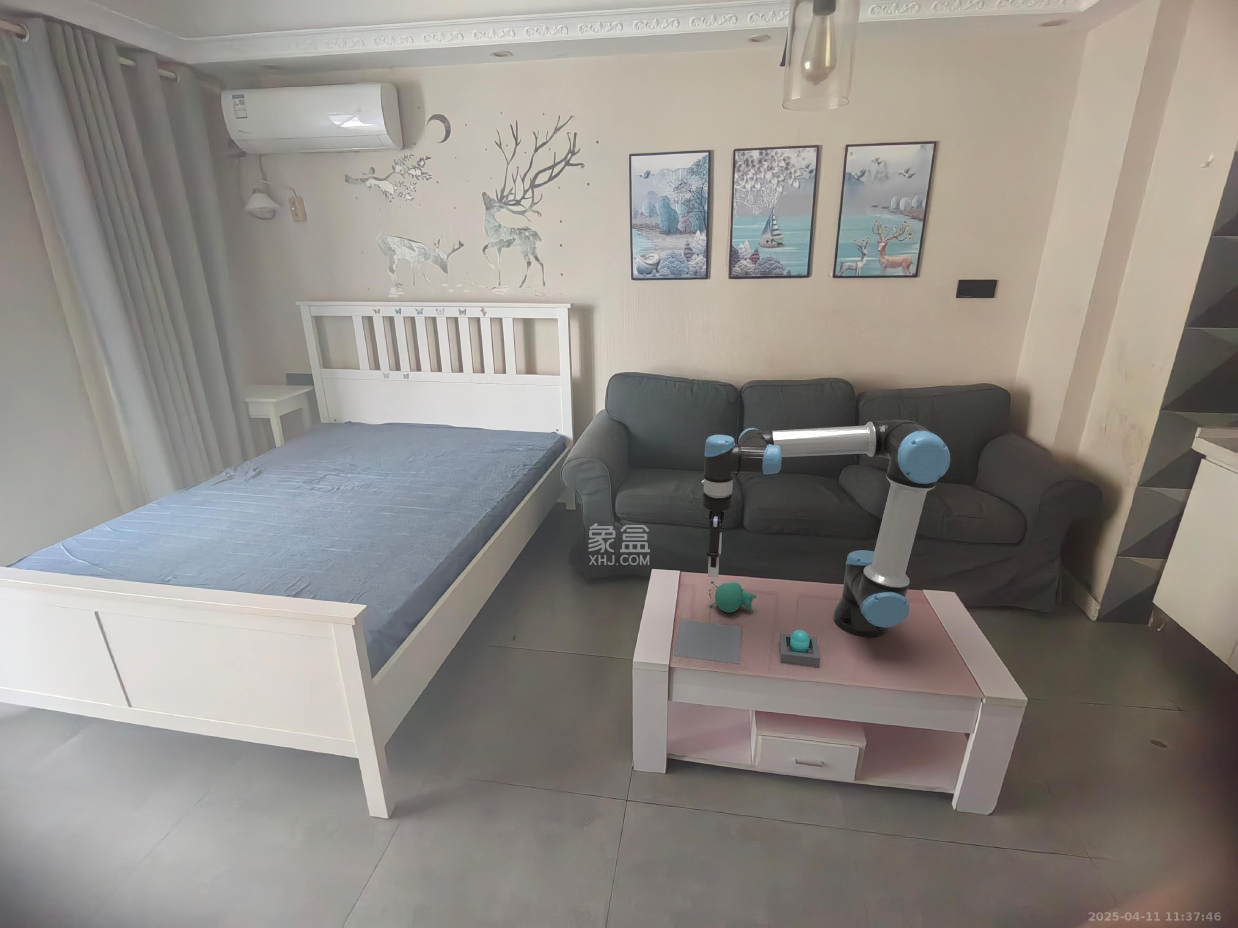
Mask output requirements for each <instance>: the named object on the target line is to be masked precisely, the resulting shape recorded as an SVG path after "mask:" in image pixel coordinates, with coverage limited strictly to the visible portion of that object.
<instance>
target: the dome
mask: <svg viewBox="0 0 1238 928" xmlns="http://www.w3.org/2000/svg"><path fill="white" fill-rule="evenodd" d="M790 634H791V640H790V646H789V652H798V653H806V654H809V649H810V648H809V641H810V638H809V636H810V635H809V634H808V633H807V632H806V631H805V630H802V629H796V630H794V631H793V633H790Z"/></svg>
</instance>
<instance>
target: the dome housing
mask: <svg viewBox="0 0 1238 928" xmlns="http://www.w3.org/2000/svg"><path fill="white" fill-rule="evenodd" d="M791 634H792V633H785V632H779V654H780V656H779V658H780V663H781V664H787V665H793V666H794V665H796V666H801V667H802V666H803V667H809V668H810V667H813V668H819V667H820V662H821V661H820V660H821V658H820V657H821V656H820V650H819V643H818V637H817V636H811V635H808V636H809V638H810V641H809V649H810V653H808V654H806V653H798V652H789V651H788V648H787V647H788V646H789V647H790V640H791Z"/></svg>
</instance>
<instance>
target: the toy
mask: <svg viewBox="0 0 1238 928" xmlns="http://www.w3.org/2000/svg"><path fill="white" fill-rule="evenodd" d="M709 583H710V584H712V585H714V587H716V590H715V594H714V601H715V602H713V603H710V604H709V607H710V608H712V607H713V605H717V607H718V608H719V609H720V610H721V611H722V612H725V613H729V614H730V613H734V612H736V611H738V610H739V608H741V606H744V607H745V608H746V609H748V610H749V611H750V612H753V610H754V608H753V607H752V603H753V599H756V598H757V595H755V594H753V593H750V592H746V591H745V589H743V587H742V585H741V583H740V582H738V581H730V582H724V583H721V584H719V585H716V584H715V582H714V580H711V581H710V582H709ZM707 591H708V596H709V599H710V600H711V599H712V597H711V596H712V593H711V591H712V589H711V588H709V589H708V590H707Z"/></svg>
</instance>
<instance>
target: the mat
mask: <svg viewBox="0 0 1238 928" xmlns="http://www.w3.org/2000/svg"><path fill="white" fill-rule="evenodd" d="M741 637H742V626H738V625H729V624H721V623H713V622H701V621H693V620H685V619H684V620H683V619H681V620H680V625H679V629H678V634H677V639H676V642H675V647H674V652H673V656H674V657H681V658H687V659H696V660H703V661H710V662H711V661H713V662H719V663H726V664H727V663H728V664H735V665H740V659H741V658H740V655H741V639H742V638H741Z"/></svg>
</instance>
